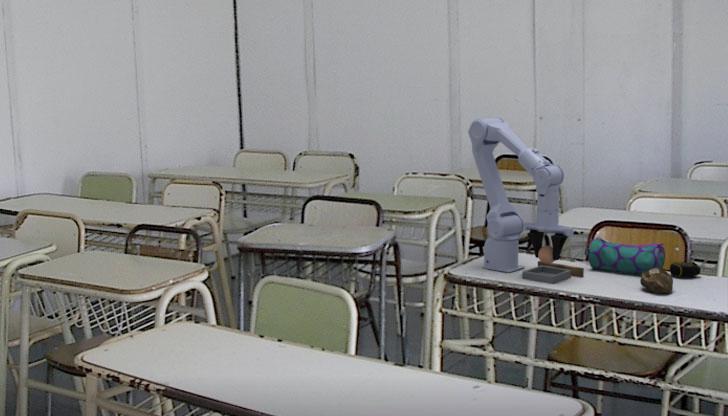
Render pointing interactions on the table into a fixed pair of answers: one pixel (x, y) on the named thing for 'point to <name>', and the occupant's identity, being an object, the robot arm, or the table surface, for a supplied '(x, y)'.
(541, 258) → the ball
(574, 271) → the walnut rail
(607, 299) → the table surface
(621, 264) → the pencil case
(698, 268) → the tape measure
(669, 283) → the brown rock
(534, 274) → the tray
